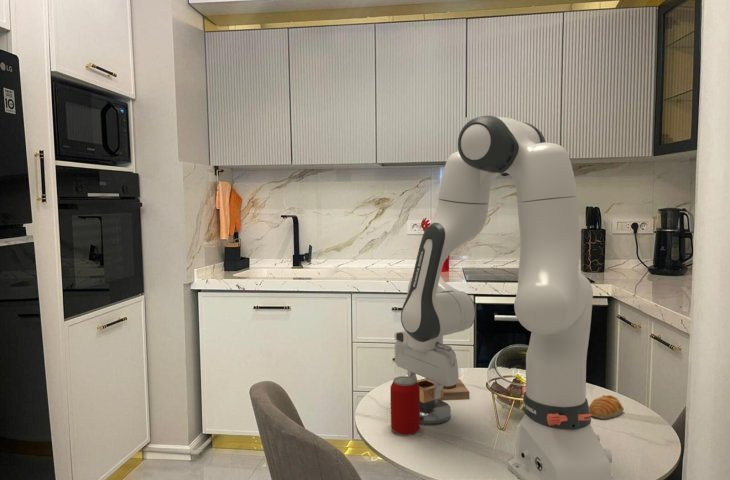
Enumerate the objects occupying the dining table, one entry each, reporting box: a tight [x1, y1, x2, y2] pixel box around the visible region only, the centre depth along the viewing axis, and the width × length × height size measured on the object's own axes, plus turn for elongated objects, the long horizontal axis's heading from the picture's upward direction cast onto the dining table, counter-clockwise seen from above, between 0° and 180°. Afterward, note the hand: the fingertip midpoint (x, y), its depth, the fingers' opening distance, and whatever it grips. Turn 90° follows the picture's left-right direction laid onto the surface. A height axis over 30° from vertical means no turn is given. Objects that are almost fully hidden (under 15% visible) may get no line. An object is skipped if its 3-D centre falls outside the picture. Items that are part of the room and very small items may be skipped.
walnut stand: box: [437, 378, 470, 401], centre depth 139 cm, size 10×10×8 cm
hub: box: [420, 386, 452, 426], centre depth 125 cm, size 12×12×7 cm
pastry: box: [589, 394, 624, 420], centre depth 124 cm, size 9×7×4 cm
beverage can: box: [390, 375, 421, 436], centre depth 116 cm, size 7×7×12 cm
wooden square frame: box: [417, 377, 443, 403], centre depth 125 cm, size 6×6×3 cm
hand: (425, 393), depth 125 cm, fingers closed on wooden square frame, 6 cm apart
